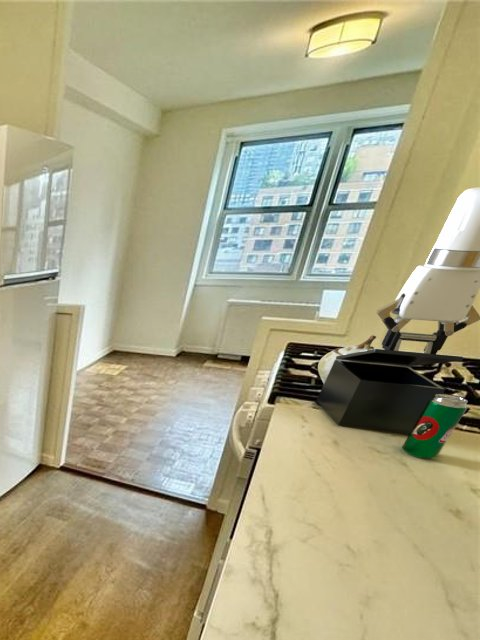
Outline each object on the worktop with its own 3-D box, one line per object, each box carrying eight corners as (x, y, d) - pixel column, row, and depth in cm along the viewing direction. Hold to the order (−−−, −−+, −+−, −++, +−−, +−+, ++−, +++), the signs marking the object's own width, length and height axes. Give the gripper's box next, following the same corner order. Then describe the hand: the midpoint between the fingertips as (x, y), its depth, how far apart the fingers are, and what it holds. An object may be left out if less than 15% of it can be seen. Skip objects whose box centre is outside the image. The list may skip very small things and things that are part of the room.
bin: (417, 436, 103) (445, 389, 98) (338, 425, 108) (360, 379, 103) (385, 409, 116) (409, 366, 111) (315, 401, 121) (335, 359, 116)
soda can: (436, 462, 93) (472, 405, 88) (400, 454, 96) (433, 398, 91) (434, 453, 97) (469, 397, 91) (400, 445, 100) (431, 391, 94)
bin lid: (462, 360, 95) (470, 335, 95) (374, 352, 100) (381, 328, 100) (409, 366, 111) (416, 344, 110) (335, 359, 115) (341, 338, 115)
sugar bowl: (381, 410, 115) (413, 349, 108) (302, 394, 125) (328, 336, 118) (386, 389, 128) (415, 333, 121) (314, 376, 137) (338, 323, 130)
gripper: (505, 259, 93) (452, 351, 101) (388, 256, 99) (348, 342, 107) (531, 264, 86) (474, 361, 95) (406, 260, 93) (362, 351, 101)
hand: (408, 350), depth 101 cm, fingers closed on bin lid, 6 cm apart
